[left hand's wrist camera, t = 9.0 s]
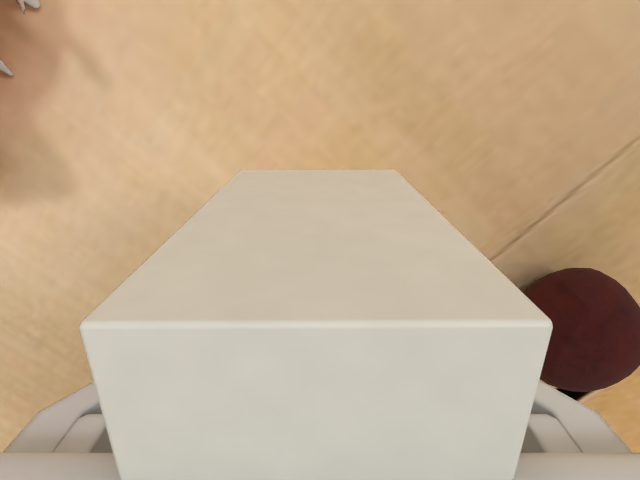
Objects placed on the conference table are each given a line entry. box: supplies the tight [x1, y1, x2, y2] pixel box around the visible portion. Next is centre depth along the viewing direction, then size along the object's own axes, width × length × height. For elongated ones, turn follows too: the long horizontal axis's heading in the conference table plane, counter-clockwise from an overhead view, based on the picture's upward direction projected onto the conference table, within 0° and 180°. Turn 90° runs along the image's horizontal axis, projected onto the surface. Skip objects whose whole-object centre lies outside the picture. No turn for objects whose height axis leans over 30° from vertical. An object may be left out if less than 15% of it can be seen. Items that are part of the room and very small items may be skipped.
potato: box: [523, 268, 640, 392], centre depth 24 cm, size 7×8×7 cm
